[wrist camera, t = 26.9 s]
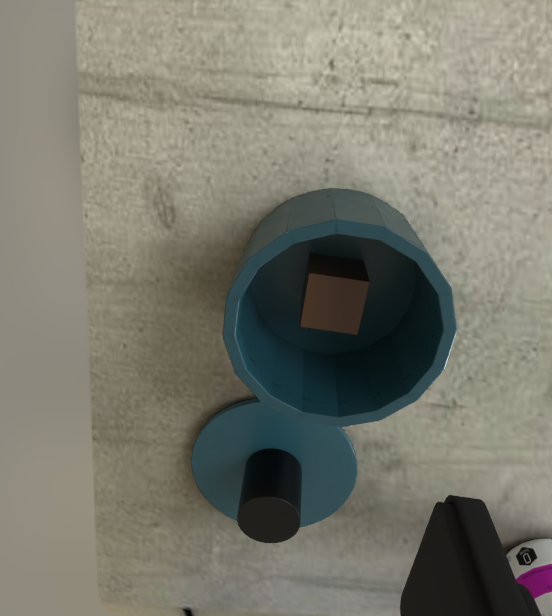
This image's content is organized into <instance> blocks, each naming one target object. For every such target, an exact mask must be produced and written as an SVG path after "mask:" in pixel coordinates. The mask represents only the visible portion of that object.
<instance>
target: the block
mask: <svg viewBox="0 0 552 616" xmlns="http://www.w3.org/2000/svg"><path fill="white" fill-rule="evenodd" d="M369 284H370V281H369V277H368V274H367V270H366V266H365V263H364V261H361V260H354V259H347V258H340V257H333V256H327V255H320V254H313V253H309V257H308V263H307V269H306V275H305V281H304V287H303V293H302V299H301V311H300V327H306V328H312V329H319V330H326V331H333V332H340V333H346V334H353V335H358V331H359V327H360V323H361V318H362V314H363V310H364V306H365V301H366V297H367V293H368V288H369Z"/></svg>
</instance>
